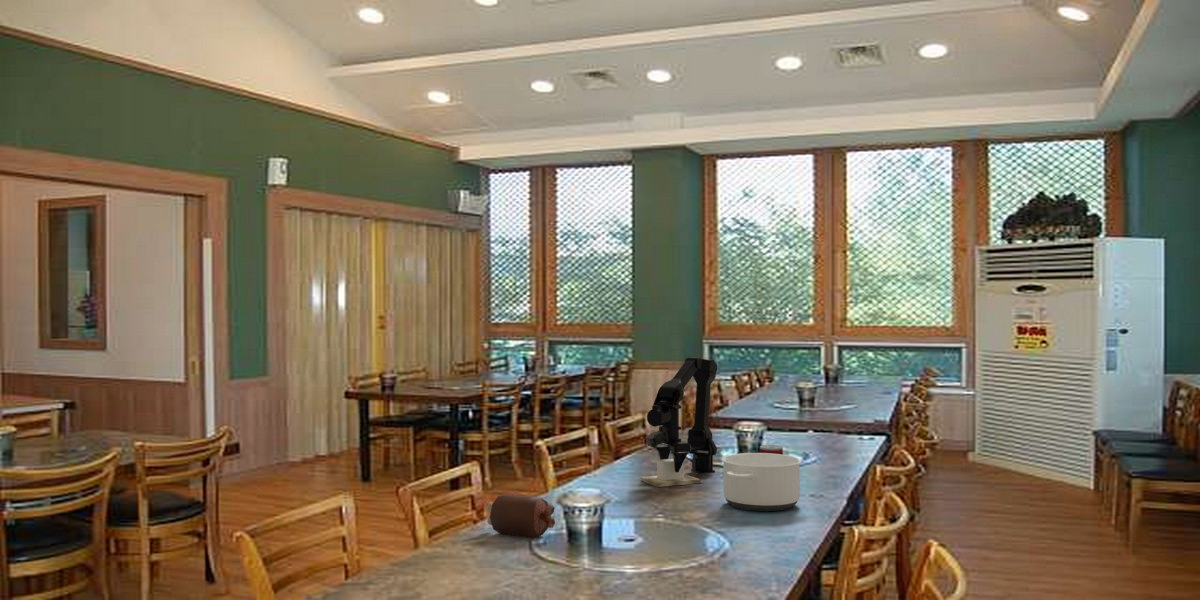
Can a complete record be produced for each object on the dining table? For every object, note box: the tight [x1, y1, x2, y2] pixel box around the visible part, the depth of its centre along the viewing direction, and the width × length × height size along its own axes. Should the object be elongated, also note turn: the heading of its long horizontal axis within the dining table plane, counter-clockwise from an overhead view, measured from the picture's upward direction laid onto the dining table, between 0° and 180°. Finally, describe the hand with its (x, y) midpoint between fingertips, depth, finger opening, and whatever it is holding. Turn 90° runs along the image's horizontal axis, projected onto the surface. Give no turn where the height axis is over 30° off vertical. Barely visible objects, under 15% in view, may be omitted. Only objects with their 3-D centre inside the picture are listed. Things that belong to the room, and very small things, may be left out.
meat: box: [486, 494, 556, 539], centre depth 243 cm, size 20×12×10 cm, turn 63°
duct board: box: [640, 473, 701, 488], centre depth 314 cm, size 16×12×5 cm
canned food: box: [759, 444, 784, 455], centre depth 318 cm, size 8×8×11 cm
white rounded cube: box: [656, 458, 685, 480], centre depth 314 cm, size 8×5×6 cm, turn 113°
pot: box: [721, 452, 802, 512], centre depth 277 cm, size 33×23×14 cm
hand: (670, 470), depth 314 cm, fingers open, 9 cm apart
